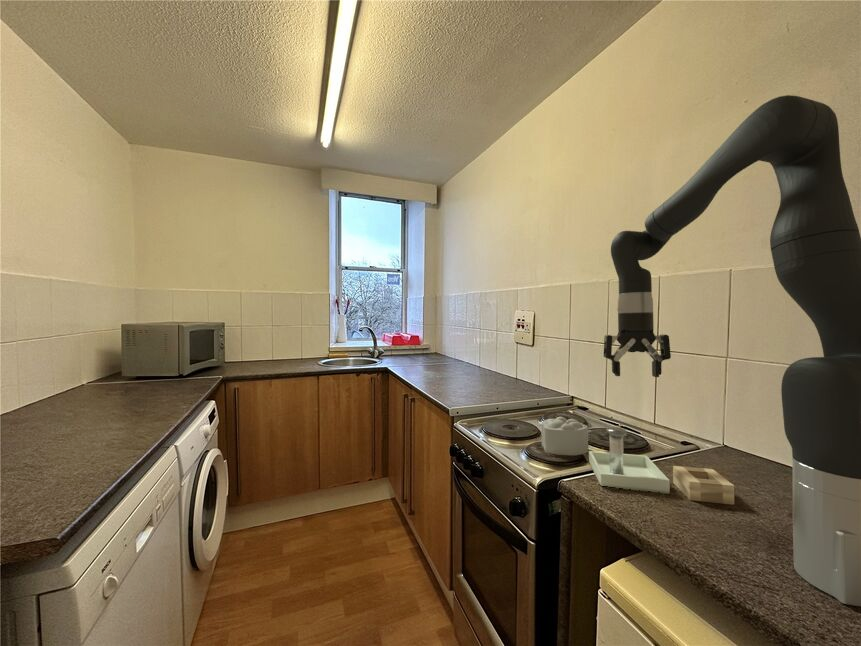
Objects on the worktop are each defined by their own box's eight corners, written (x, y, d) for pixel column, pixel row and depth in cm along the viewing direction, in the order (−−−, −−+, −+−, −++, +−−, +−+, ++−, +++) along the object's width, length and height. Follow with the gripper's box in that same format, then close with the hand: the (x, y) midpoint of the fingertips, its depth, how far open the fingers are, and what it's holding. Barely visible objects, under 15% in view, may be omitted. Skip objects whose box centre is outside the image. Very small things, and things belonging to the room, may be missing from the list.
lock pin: (629, 478, 81) (628, 433, 81) (609, 476, 82) (608, 431, 82) (623, 470, 85) (623, 427, 85) (604, 468, 86) (604, 426, 86)
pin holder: (734, 504, 70) (734, 485, 70) (689, 500, 72) (689, 481, 72) (712, 486, 77) (712, 469, 77) (673, 482, 79) (672, 465, 79)
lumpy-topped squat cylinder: (540, 441, 108) (539, 415, 108) (582, 443, 106) (581, 415, 106) (546, 454, 97) (546, 424, 97) (593, 456, 95) (593, 426, 95)
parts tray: (669, 493, 74) (669, 480, 74) (601, 486, 78) (600, 473, 78) (646, 466, 88) (646, 455, 88) (588, 462, 91) (588, 451, 91)
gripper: (608, 311, 81) (609, 378, 81) (675, 310, 78) (676, 379, 78) (600, 312, 88) (601, 373, 88) (661, 311, 85) (662, 374, 85)
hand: (636, 376), depth 83 cm, fingers open, 8 cm apart
